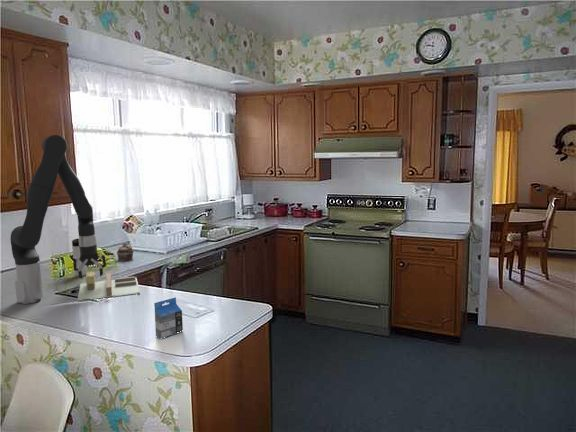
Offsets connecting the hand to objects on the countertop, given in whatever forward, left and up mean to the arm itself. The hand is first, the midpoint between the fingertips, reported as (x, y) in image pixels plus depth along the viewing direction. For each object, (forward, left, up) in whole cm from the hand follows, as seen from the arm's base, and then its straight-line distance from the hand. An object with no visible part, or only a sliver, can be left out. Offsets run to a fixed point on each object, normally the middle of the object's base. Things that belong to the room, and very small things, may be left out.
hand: (91, 277), depth 211 cm
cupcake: (+48, +30, -6) cm, 56 cm away
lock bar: (-1, 0, -4) cm, 4 cm away
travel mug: (+12, +23, -6) cm, 26 cm away
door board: (+2, -10, -5) cm, 12 cm away
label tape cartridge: (-25, -72, -6) cm, 77 cm away
